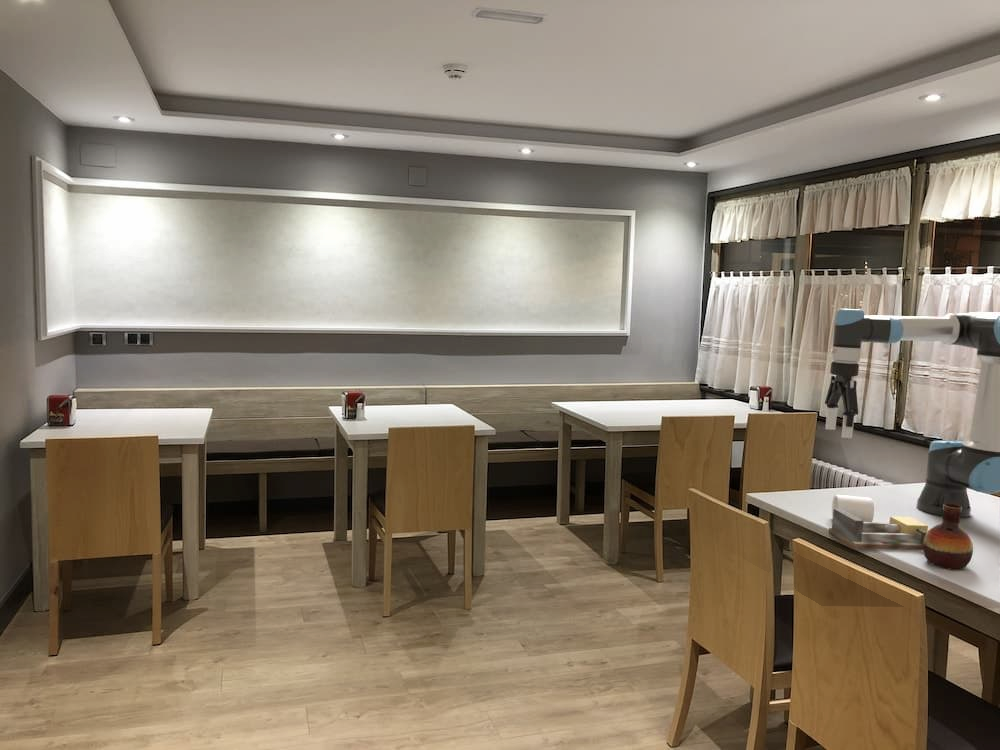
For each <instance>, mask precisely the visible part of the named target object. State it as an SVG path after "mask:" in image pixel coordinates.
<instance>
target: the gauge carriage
mask: <svg viewBox="0 0 1000 750" xmlns="http://www.w3.org/2000/svg"><path fill="white" fill-rule="evenodd" d="M885 530H886V532H887V533H905V534H921V541H920V543H923V540H924V537H925V535H926V533H927V532H928V531H929V525H927V524H926V523H923V522H921V521H919V520H917V519H915V518H913V517H911V516H890V517H889V524H886V525H885Z"/></svg>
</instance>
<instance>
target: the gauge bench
mask: <svg viewBox="0 0 1000 750" xmlns="http://www.w3.org/2000/svg"><path fill="white" fill-rule="evenodd" d="M889 523H890V521H889V522H888V521H887V522H884V521H882V522H881V521H880V522H878V521H877V522H876V521H872V522H864V521H863V520H861V519H859V518H858V517H856V516H854V515H852V514H850V513H848V512H847V511H845V510H843V509H834V511H833V517H832V522H831V524H832V525H831V527H829V528H828V533H830V534H832V535H833V536H834V537H836V538H837V539H839V540H841V541H843V542H844V543H846V544H847V545H849V546H851V547H852V548H854V549H864V550H865V549H866V550H867V549H869V550H871V549H872V550H874V549H875V550H877V549H878V550H909V551H910V550H913V551H914V550H915V551H919V550H920V551H923V543H920V541H921V534H905V533H887V532H886V530H885V525H886V524H889Z"/></svg>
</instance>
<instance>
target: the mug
mask: <svg viewBox="0 0 1000 750" xmlns="http://www.w3.org/2000/svg"><path fill="white" fill-rule="evenodd" d="M834 509H843V510H845V511H847V512H848V513H850V514H852V515H854V516H856V517H858V518H859V519H861V520H863V521H864V522H874V521H873V520H874V517H875V516H874V514H875V506H874V501H873V499H872V498H871V497H866V496H865V497H864V496H854V495H846V494H845V495H843V494H834V495H833V498H832V503H831V516H832V518H833V511H834Z"/></svg>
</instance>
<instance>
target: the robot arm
mask: <svg viewBox="0 0 1000 750" xmlns="http://www.w3.org/2000/svg"><path fill="white" fill-rule="evenodd" d="M833 325H834V328H833V339H832V349H831V350H830V353H831V360H832V361H831V362H830V372H829V373H830V374H831V376H830V382H829V387H828V390H827V394H826V397H825V401H824V404H825V405H826V410H827V411H826V418H825V430H831V431H832V430H834V431H836V427H837V416H838V408H839V405H838V404H839V401H840V399H842V405H843V408H844V410H843V411H844V412H843V413H842V415H843V417H842V418H843V419H842V429H841V438H842V439H853V436H854V435H853V432H854V424H855V423H854V422H855V416H856V415H859V404H858V394H857V384H858V383H857V382H858V381H857V380H853V379H852V378H853V377H857V376H859V369H860V364H859V363H858V362H860V361H861V353H862V351H861V350H862V343H874V344H875V343H876V344H879V343H880V344H886V345H887V344H896V343H898V342H899V341H906V342H907V341H910V342H911V341H913V342H915V341H917V342H941V343H942V344H943V345H944V344H945V345H950V346H951V345H953V346H961V347H966V348H972V349H977V350H976V357H977V358H978V359H979V360H980V370H979V375H978V381H977V387H976V392H975V393H976V394H975V399H974V400H975V401H974V406H973V413H972V418H971V424H970V430H969V437H968V439H967V440H966V441H958V440H933V441H931V442H930V443H929V448H928V452H927V453H928V455H927V456H928V457H927V463H926V464H927V466H926V467H927V468H926V474H925V475H926V476H925V477H926V478H925V483H924V484H925V485H924V486H923V488H922V491H921V492H920V495H919V496H918V498H917V502H916V508H917V509H918V510H920V511H923V512H925V513H928V514H933V515H938V516H942V517H943V504H955V505H959V506H961V507H962V510H961V515H960V518H968V517H970V516H971V513H972V512H971V511H972V510H971V509H972V508H971V504H970V499H969V495H968V489H971V490H972V491H975V492H976V493H977V492H978V493H983V494H988V495H991V494H997V493H999V492H1000V312H997V311H995V312H994V311H993V312H992V311H973V312H965V313H963V312H962V313H947V314H944V315H943V316H913V315H910V316H906V315H905V316H904V315H901V316H900V315H865V311H864V309H859V308H858V309H857V308H855V309H854V308H838V309H837V311H836V313H835V318H834V323H833Z"/></svg>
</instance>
